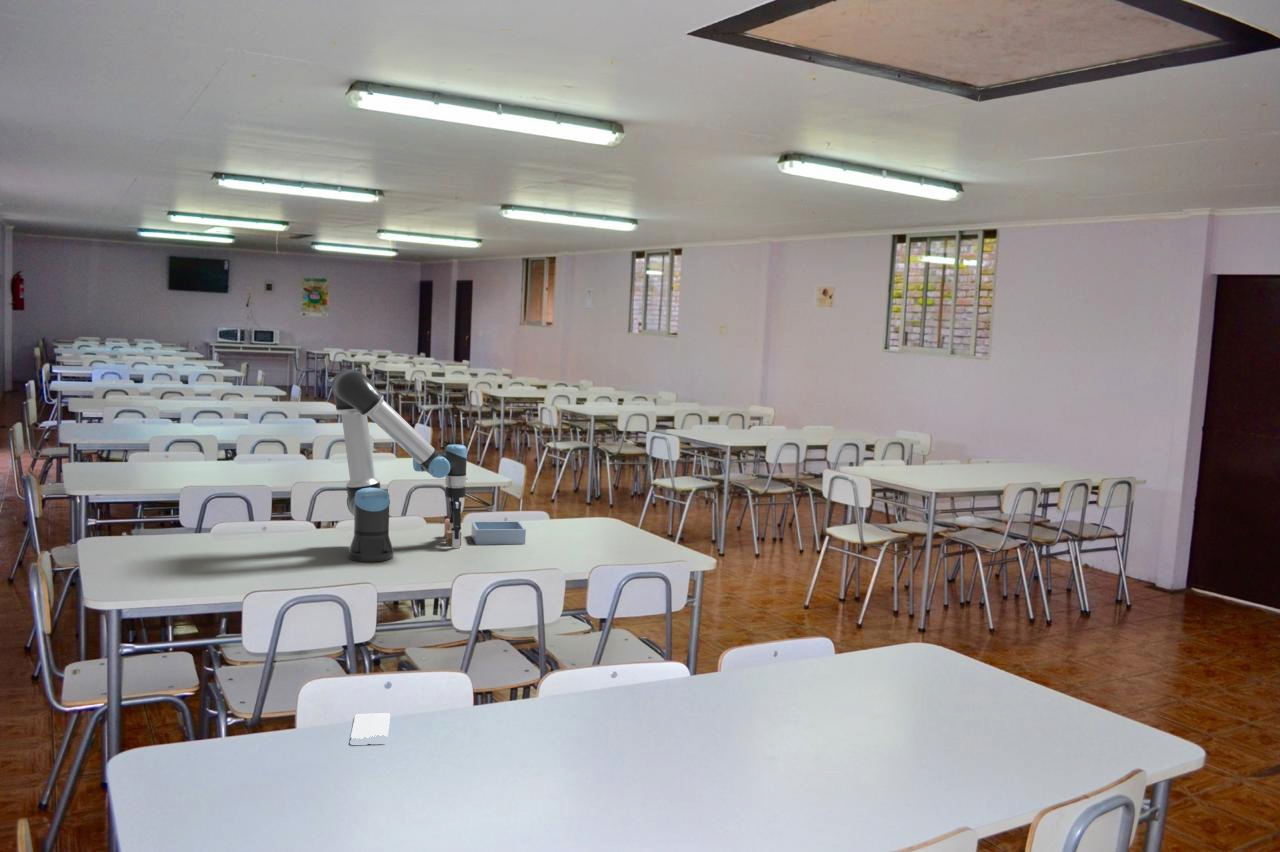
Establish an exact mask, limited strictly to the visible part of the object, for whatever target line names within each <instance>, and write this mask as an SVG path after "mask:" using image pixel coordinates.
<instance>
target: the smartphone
mask: <svg viewBox="0 0 1280 852" xmlns="http://www.w3.org/2000/svg"><path fill="white" fill-rule="evenodd" d="M390 725H391V713H389V712H380V713H379V712H377V713H376V712H374V713H357V714H355V715H354V720H353V724H352V729H351V733H350V738H351V737H352V739H353V738H356V739H357V738H358V739H359V738H360V739H363V738H364V737H366V738H369V737H370V736H371V737H372V736H373V737H374V736H375V735H376V736H377V735H379V736H382V735H384V736H386V737H388V738H389V731H390ZM376 736H375V737H376ZM371 737H370V738H371ZM350 738H349V739H350Z"/></svg>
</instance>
